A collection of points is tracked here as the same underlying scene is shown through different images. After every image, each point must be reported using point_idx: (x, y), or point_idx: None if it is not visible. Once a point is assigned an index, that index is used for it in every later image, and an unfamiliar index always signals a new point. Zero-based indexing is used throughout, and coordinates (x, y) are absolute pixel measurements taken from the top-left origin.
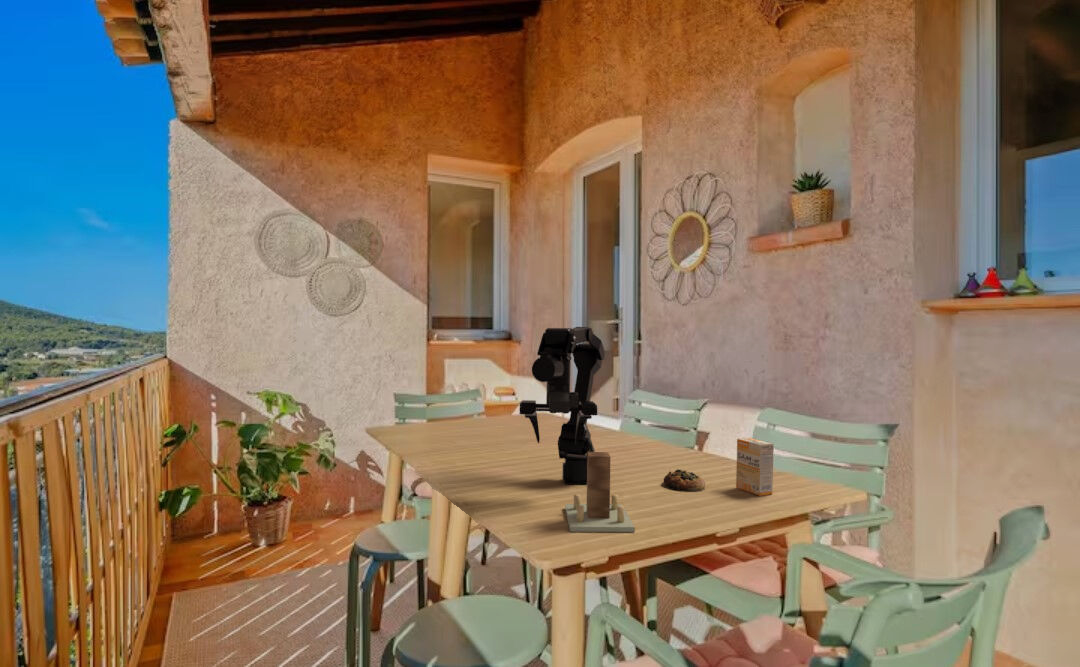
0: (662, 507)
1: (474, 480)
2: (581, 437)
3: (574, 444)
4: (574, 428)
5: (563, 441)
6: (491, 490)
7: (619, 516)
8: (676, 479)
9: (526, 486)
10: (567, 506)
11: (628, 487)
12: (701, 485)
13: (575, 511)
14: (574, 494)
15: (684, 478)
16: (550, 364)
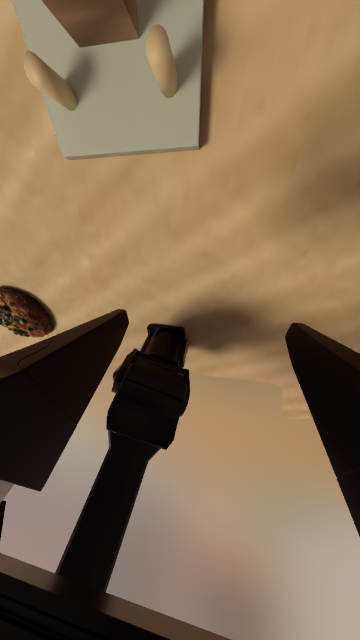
0: (4, 184)
1: None
2: (125, 388)
3: (150, 376)
4: (137, 423)
5: (175, 391)
6: (333, 302)
7: None
8: (16, 306)
9: (252, 322)
10: (194, 112)
11: (92, 309)
12: None
13: (173, 28)
14: (166, 61)
15: (4, 306)
16: None
